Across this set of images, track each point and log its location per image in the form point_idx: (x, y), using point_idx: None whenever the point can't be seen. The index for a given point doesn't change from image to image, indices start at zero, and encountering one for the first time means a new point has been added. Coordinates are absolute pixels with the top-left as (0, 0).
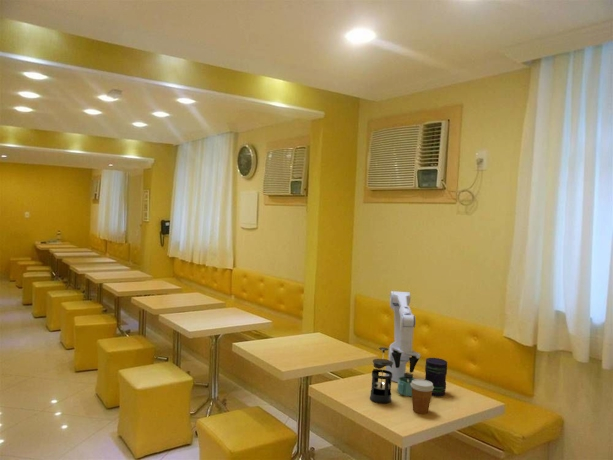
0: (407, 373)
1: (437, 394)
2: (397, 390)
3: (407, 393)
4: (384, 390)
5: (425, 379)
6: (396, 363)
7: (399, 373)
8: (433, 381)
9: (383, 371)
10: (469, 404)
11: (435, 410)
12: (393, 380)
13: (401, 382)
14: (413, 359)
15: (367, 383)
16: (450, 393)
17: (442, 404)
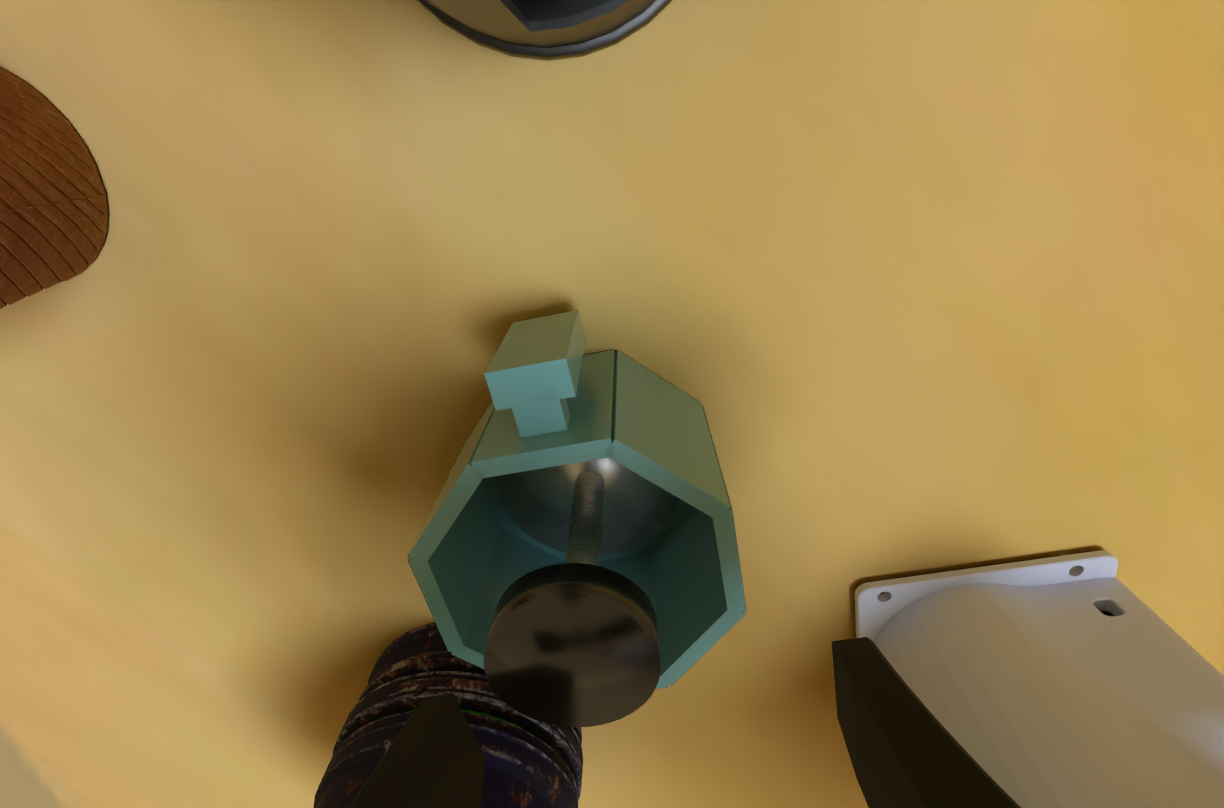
0: (617, 680)
1: (375, 675)
2: (700, 403)
3: (492, 403)
4: (619, 1)
5: (505, 779)
6: (891, 748)
7: (941, 697)
8: (347, 795)
9: None
10: (146, 746)
11: (11, 377)
12: (954, 575)
13: (572, 433)
14: None
15: (1182, 182)
16: None
17: (177, 562)
